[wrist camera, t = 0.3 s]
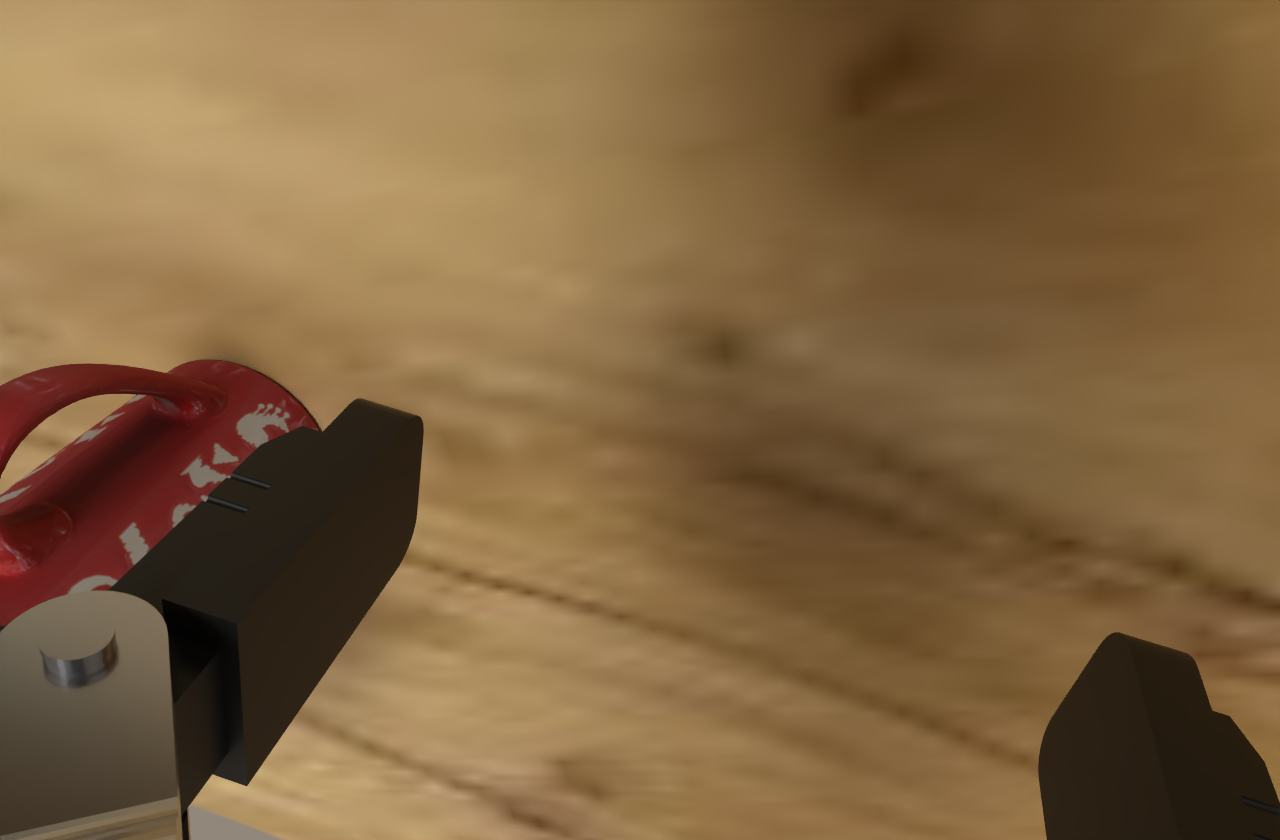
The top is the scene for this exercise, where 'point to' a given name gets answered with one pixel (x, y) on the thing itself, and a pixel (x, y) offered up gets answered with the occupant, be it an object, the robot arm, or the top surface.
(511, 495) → the top surface
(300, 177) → the top surface
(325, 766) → the top surface
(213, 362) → the mug
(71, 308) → the top surface
